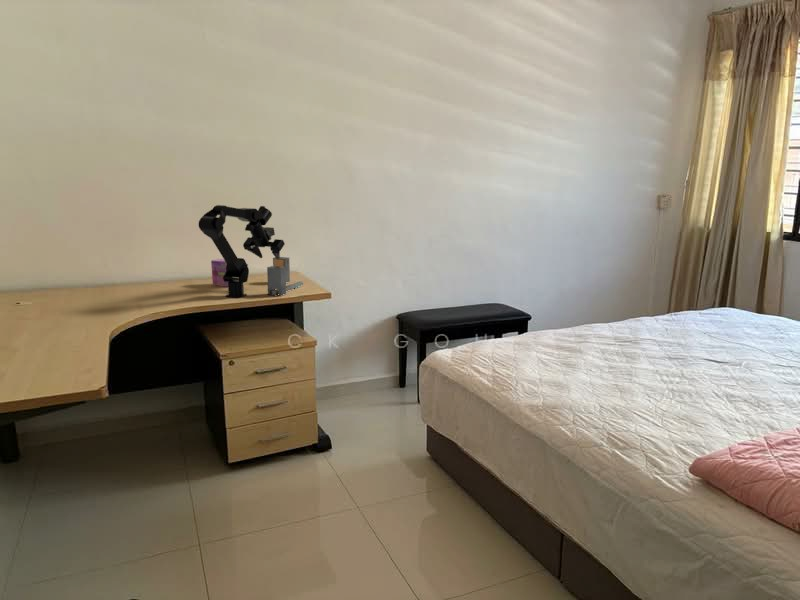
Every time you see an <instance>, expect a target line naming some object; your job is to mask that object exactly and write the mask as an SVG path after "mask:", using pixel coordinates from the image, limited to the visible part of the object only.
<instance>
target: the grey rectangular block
mask: <svg viewBox="0 0 800 600" xmlns="http://www.w3.org/2000/svg"><path fill="white" fill-rule="evenodd" d="M272 266H279V267H285V275H286V282H289V281H290V282H291V279H290V278H291V276H290V274H291V273H290V270H291V269H290V257H286V256H285V257H284V256H280V259H279V260H278V259H277V258H276V257H275V256H274V257H272Z"/></svg>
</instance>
